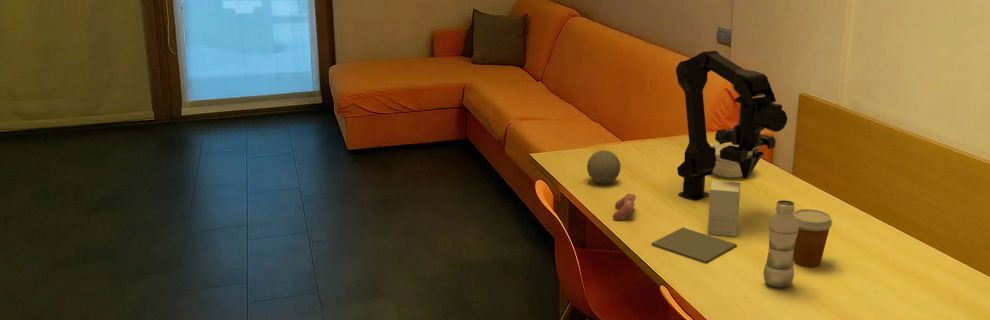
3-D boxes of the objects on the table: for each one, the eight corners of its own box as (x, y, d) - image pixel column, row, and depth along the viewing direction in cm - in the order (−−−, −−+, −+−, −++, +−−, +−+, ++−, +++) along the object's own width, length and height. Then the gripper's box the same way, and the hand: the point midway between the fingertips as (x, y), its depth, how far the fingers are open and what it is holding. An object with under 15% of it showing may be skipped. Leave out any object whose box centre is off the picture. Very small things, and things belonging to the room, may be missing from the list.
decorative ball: (580, 184, 271) (581, 152, 268) (596, 175, 279) (597, 144, 276) (610, 190, 266) (611, 158, 263) (625, 180, 274) (626, 149, 271)
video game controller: (625, 227, 244) (638, 206, 241) (611, 219, 244) (623, 198, 241) (628, 213, 253) (640, 193, 250) (613, 205, 253) (625, 185, 251)
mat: (682, 229, 237) (682, 227, 237) (736, 246, 227) (736, 244, 226) (651, 245, 228) (651, 243, 228) (706, 263, 217) (706, 261, 217)
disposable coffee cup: (807, 273, 212) (812, 226, 208) (777, 258, 220) (781, 212, 216) (836, 265, 216) (841, 218, 212) (806, 250, 224) (811, 205, 220)
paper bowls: (760, 170, 282) (762, 146, 279) (745, 184, 269) (746, 159, 267) (713, 162, 289) (714, 138, 287) (696, 176, 277) (697, 151, 275)
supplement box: (738, 227, 239) (741, 182, 235) (735, 237, 232) (739, 191, 228) (709, 223, 241) (712, 179, 237) (706, 234, 234) (709, 188, 230)
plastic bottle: (758, 279, 209) (765, 198, 203) (786, 277, 210) (794, 197, 203) (768, 291, 203) (776, 208, 197) (797, 290, 203) (806, 207, 197)
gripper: (741, 109, 246) (737, 163, 251) (703, 123, 234) (699, 180, 239) (778, 116, 239) (773, 172, 244) (741, 131, 226) (737, 190, 231)
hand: (745, 178), depth 239 cm, fingers closed
